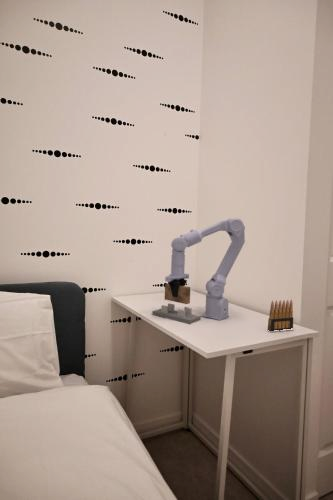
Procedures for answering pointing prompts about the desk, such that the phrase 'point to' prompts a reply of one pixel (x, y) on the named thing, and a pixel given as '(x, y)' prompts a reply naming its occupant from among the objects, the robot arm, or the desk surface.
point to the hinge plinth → (177, 314)
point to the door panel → (182, 294)
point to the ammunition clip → (280, 316)
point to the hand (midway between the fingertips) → (176, 296)
